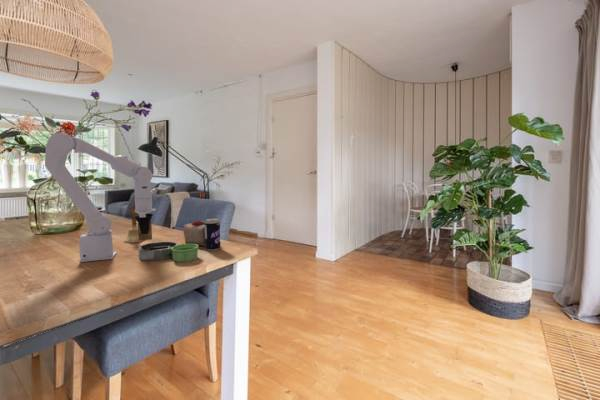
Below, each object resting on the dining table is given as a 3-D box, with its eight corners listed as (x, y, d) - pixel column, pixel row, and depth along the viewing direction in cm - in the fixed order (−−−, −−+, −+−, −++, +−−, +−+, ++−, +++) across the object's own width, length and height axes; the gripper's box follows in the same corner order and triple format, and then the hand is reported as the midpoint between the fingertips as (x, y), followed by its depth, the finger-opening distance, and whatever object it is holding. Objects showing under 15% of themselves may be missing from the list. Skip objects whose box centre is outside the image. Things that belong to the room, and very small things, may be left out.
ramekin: (178, 264, 97) (178, 251, 96) (167, 259, 103) (166, 247, 103) (203, 258, 104) (203, 246, 103) (191, 253, 110) (190, 242, 109)
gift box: (181, 244, 124) (180, 221, 123) (196, 240, 131) (195, 218, 130) (203, 248, 117) (202, 223, 116) (218, 243, 124) (217, 220, 123)
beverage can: (211, 252, 111) (210, 221, 110) (202, 249, 114) (201, 219, 113) (223, 249, 116) (222, 219, 114) (214, 246, 119) (213, 217, 118)
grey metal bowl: (137, 262, 99) (136, 252, 99) (141, 252, 111) (140, 243, 110) (179, 257, 104) (178, 248, 104) (178, 248, 116) (178, 240, 116)
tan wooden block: (138, 240, 112) (137, 223, 111) (139, 239, 113) (138, 222, 113) (151, 239, 113) (151, 222, 113) (152, 238, 115) (151, 222, 114)
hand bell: (136, 237, 135) (133, 203, 133) (149, 239, 132) (147, 204, 130) (119, 242, 127) (117, 205, 125) (133, 243, 124) (131, 206, 123)
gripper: (153, 199, 107) (155, 236, 108) (156, 196, 120) (157, 229, 121) (131, 200, 104) (133, 237, 105) (136, 196, 117) (138, 230, 118)
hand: (145, 233), depth 113 cm, fingers closed on tan wooden block, 2 cm apart
